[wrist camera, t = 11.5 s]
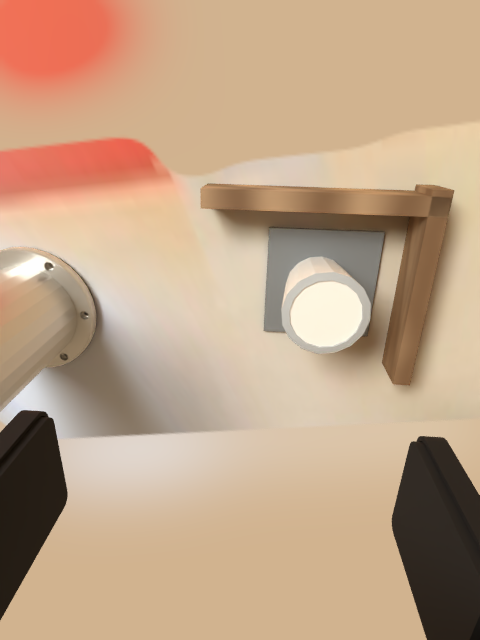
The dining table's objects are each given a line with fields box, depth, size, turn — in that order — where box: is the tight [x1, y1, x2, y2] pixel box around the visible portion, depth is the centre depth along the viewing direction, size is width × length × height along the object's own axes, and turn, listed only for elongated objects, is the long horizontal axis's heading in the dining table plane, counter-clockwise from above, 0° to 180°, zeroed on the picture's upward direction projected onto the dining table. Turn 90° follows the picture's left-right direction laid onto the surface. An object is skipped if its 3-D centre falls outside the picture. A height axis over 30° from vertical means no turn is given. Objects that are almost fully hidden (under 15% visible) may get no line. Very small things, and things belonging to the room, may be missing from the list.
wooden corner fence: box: [201, 184, 454, 385], centre depth 36 cm, size 19×17×4 cm
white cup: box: [281, 256, 371, 354], centre depth 34 cm, size 7×7×7 cm
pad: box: [264, 227, 385, 336], centre depth 38 cm, size 10×10×1 cm
